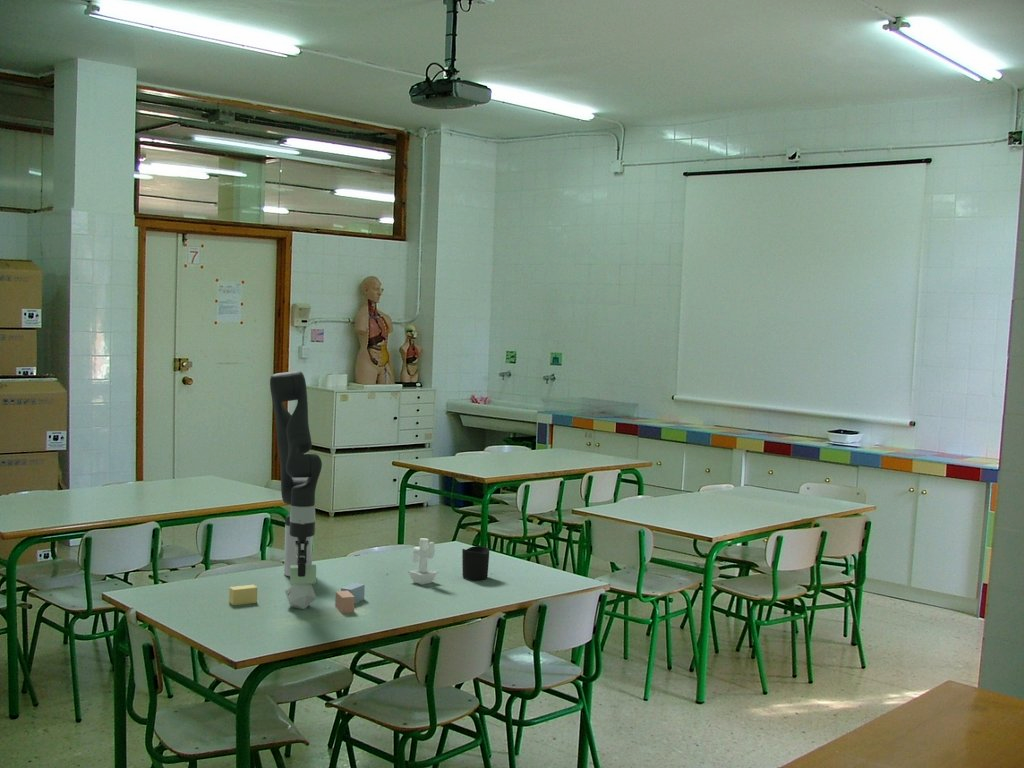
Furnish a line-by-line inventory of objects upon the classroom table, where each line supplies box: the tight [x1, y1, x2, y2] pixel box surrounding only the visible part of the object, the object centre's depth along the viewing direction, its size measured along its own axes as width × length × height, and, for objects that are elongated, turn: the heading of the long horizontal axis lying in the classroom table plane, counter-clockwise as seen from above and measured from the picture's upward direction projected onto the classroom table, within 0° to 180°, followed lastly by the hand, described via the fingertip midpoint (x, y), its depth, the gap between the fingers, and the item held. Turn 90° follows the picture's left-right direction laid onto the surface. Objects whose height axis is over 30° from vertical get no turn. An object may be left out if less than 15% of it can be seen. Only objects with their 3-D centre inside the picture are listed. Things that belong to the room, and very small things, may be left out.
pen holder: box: [461, 545, 490, 581], centre depth 347 cm, size 9×9×10 cm
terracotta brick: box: [334, 590, 355, 614], centre depth 302 cm, size 4×8×5 cm, turn 25°
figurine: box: [407, 537, 439, 586], centre depth 338 cm, size 7×9×15 cm
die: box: [284, 583, 317, 610], centre depth 303 cm, size 8×9×10 cm
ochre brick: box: [228, 584, 258, 606], centre depth 306 cm, size 4×8×5 cm, turn 123°
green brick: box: [289, 564, 317, 585], centre depth 303 cm, size 4×8×5 cm, turn 103°
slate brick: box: [340, 582, 366, 604], centre depth 312 cm, size 4×8×5 cm, turn 155°
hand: (301, 572), depth 303 cm, fingers open, 8 cm apart
